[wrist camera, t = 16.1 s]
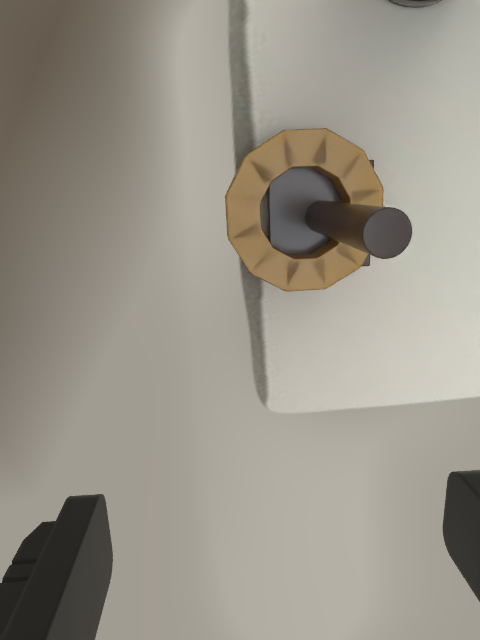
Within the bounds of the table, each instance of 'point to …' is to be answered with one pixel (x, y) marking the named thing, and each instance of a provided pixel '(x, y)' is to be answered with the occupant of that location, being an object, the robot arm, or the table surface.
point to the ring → (252, 184)
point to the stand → (330, 218)
